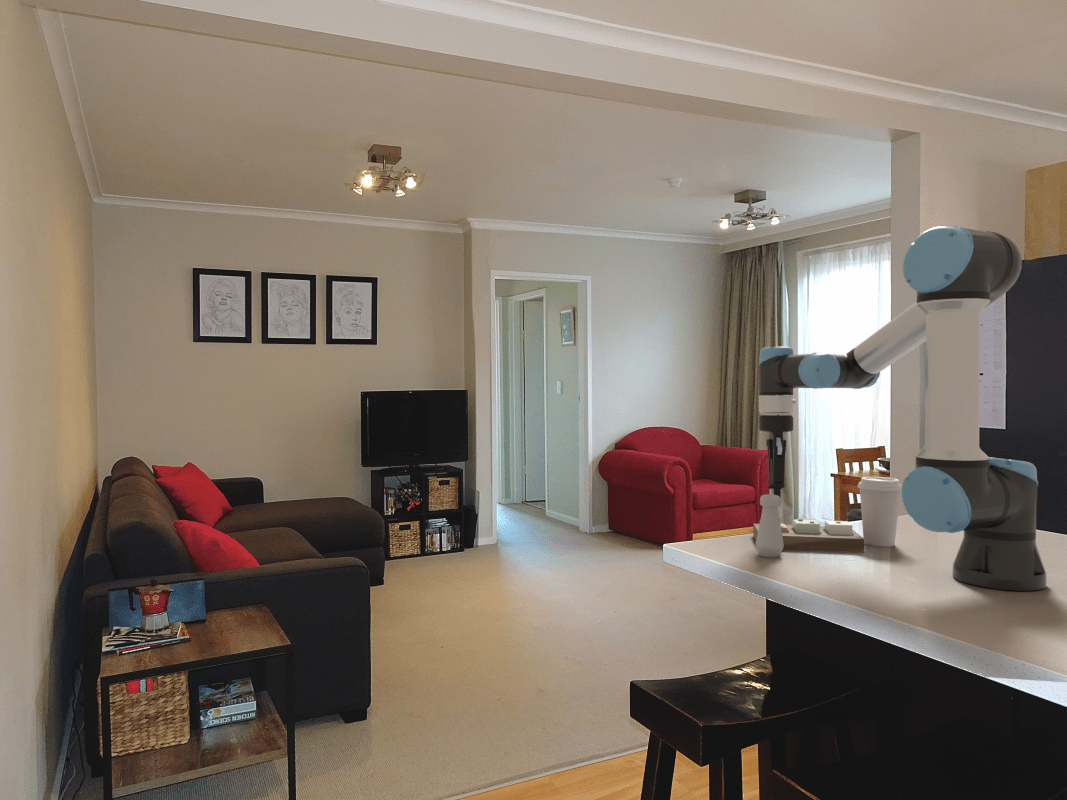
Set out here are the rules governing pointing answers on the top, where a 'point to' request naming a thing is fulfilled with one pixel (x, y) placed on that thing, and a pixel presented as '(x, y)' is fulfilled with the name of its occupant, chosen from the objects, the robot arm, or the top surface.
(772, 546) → the salt shaker
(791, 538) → the button board
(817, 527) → the pale green square block
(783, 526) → the tile
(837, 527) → the cream square block
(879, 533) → the coffee cup
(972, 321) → the robot arm
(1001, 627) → the top surface
